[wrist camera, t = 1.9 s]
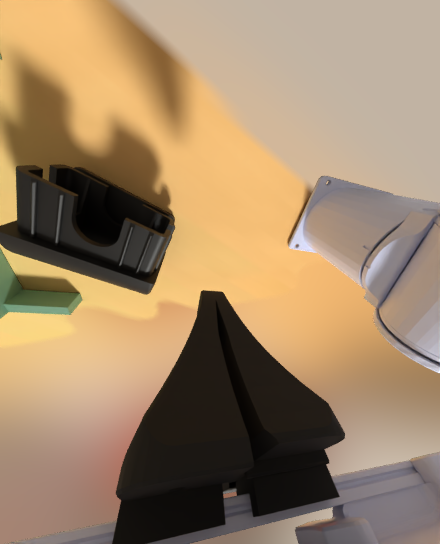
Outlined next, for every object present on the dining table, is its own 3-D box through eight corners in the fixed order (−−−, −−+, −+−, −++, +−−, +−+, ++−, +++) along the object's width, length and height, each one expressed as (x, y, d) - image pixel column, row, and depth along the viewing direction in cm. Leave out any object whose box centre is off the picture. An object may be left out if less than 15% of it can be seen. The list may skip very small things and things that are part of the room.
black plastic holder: (61, 231, 17) (-5, 266, 11) (69, 160, 14) (-17, 160, 8) (157, 268, 21) (142, 308, 15) (180, 218, 18) (173, 246, 12)
